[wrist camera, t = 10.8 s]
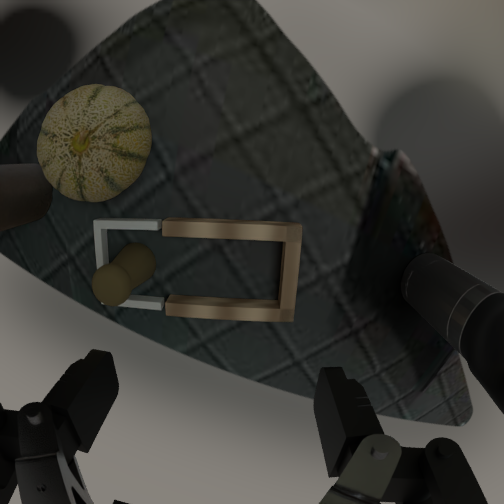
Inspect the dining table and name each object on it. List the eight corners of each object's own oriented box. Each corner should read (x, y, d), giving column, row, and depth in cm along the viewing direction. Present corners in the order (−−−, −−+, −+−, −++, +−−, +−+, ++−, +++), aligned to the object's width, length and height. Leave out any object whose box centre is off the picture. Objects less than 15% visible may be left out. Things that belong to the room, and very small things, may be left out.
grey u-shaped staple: (161, 219, 41) (157, 221, 39) (164, 304, 44) (161, 310, 42) (99, 218, 41) (93, 220, 39) (106, 298, 44) (101, 304, 42)
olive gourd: (143, 289, 44) (115, 323, 33) (112, 265, 43) (77, 292, 32) (163, 259, 42) (137, 287, 32) (131, 234, 41) (96, 254, 31)
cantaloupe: (67, 122, 37) (4, 111, 22) (151, 81, 36) (106, 44, 21) (91, 210, 40) (29, 231, 26) (178, 176, 39) (139, 180, 25)
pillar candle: (60, 205, 40) (-4, 222, 26) (24, 229, 41) (-35, 251, 26) (43, 152, 38) (-22, 151, 23) (8, 180, 39) (-52, 188, 24)
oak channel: (298, 222, 41) (302, 227, 38) (290, 312, 45) (292, 322, 42) (168, 217, 41) (162, 221, 38) (170, 306, 44) (166, 315, 41)
